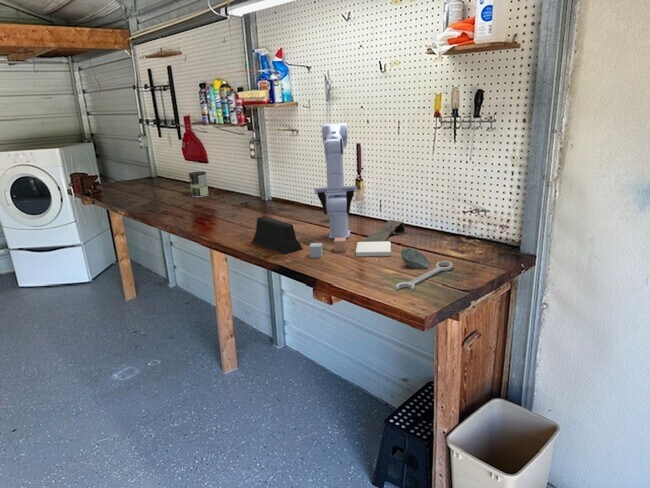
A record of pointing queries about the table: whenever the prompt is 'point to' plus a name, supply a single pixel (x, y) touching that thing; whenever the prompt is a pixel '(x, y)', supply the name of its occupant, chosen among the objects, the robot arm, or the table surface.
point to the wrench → (425, 275)
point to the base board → (373, 248)
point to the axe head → (386, 231)
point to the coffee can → (198, 184)
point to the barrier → (276, 236)
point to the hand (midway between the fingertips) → (336, 214)
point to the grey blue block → (316, 250)
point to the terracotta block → (340, 244)
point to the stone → (414, 258)
